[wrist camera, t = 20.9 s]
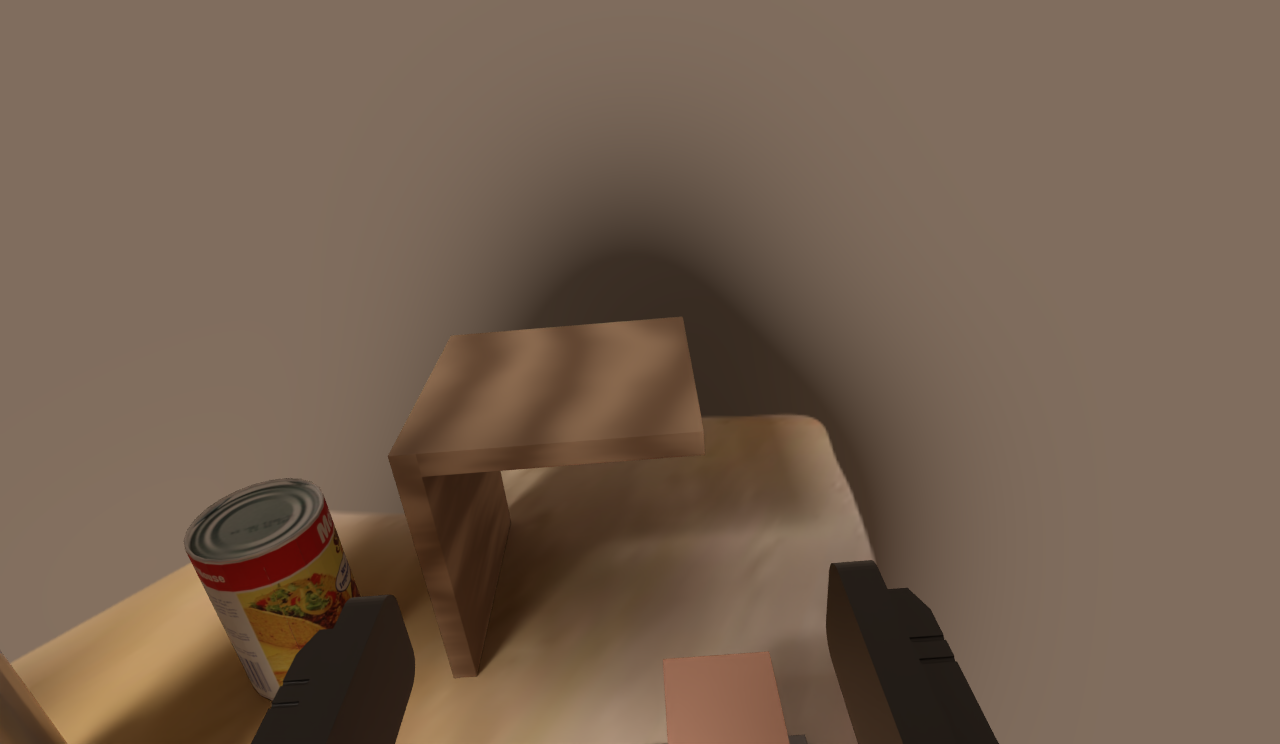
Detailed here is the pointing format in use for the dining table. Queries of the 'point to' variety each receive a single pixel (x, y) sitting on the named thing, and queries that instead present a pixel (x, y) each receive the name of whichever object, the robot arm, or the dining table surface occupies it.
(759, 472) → the dining table surface
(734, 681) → the terracotta block
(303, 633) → the canned food
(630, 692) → the dining table surface
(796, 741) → the slate mat
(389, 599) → the robot arm
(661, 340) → the shelf nook
